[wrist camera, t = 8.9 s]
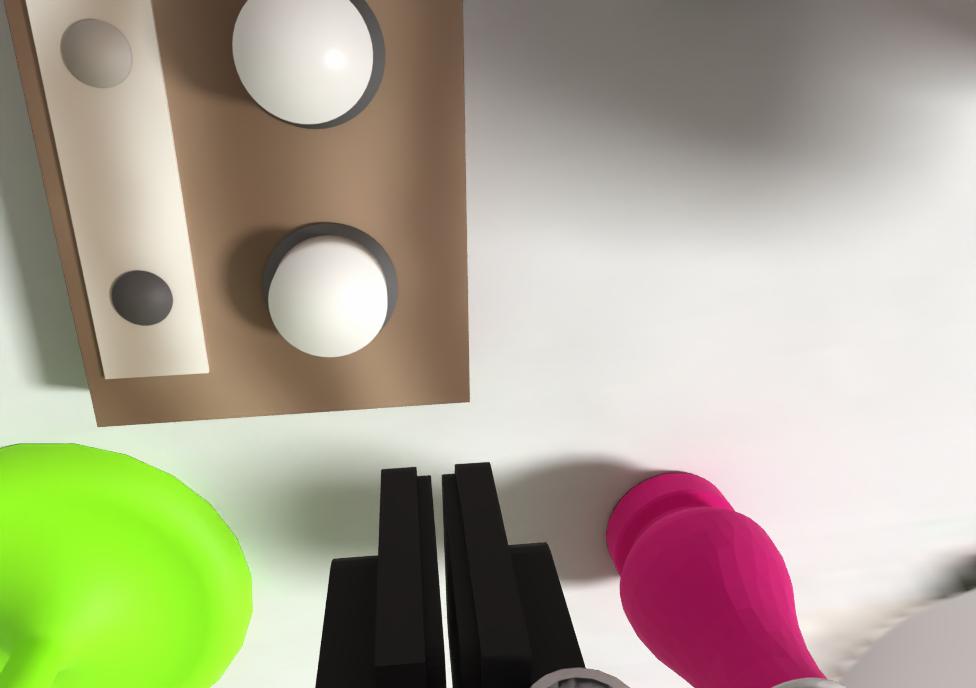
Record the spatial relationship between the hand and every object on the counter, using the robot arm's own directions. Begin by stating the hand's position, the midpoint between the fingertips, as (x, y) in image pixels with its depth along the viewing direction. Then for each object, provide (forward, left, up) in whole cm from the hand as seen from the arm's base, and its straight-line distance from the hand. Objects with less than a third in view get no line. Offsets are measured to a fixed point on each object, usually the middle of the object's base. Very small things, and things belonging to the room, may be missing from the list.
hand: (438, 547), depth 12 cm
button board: (+5, -7, -20) cm, 22 cm away
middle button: (+3, -7, -16) cm, 18 cm away
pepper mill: (-12, +15, -20) cm, 28 cm away
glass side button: (+3, +1, -17) cm, 17 cm away
